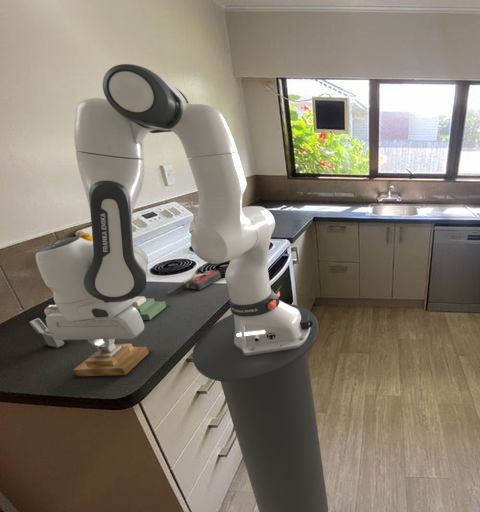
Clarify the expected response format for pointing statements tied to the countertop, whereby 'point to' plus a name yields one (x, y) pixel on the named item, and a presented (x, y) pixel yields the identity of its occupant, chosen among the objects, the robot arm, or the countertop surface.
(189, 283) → the walkie-talkie
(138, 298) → the far key
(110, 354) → the near key
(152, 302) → the key block
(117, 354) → the key block
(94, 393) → the countertop surface
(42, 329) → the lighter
